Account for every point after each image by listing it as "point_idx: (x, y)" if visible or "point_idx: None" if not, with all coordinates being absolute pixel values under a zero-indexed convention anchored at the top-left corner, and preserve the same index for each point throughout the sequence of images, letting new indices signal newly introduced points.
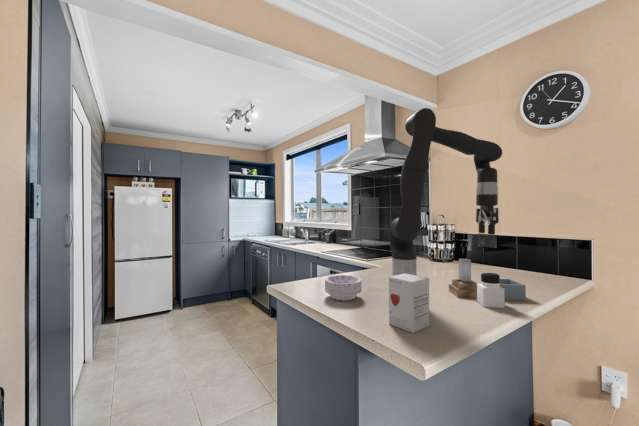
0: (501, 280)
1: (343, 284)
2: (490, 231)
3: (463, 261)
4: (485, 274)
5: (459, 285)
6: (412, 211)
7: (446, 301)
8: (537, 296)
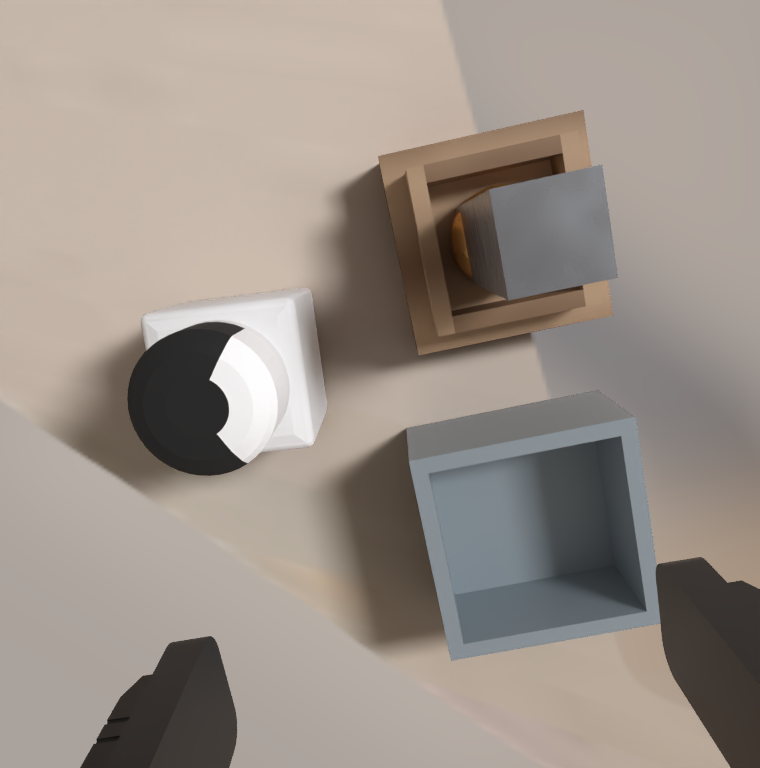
0: (634, 551)
1: None
2: (128, 697)
3: (488, 209)
4: (157, 358)
5: (406, 175)
6: None
7: (238, 64)
8: (563, 699)
